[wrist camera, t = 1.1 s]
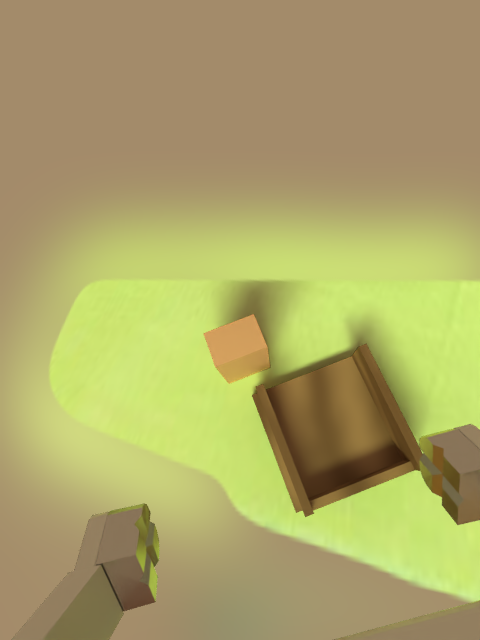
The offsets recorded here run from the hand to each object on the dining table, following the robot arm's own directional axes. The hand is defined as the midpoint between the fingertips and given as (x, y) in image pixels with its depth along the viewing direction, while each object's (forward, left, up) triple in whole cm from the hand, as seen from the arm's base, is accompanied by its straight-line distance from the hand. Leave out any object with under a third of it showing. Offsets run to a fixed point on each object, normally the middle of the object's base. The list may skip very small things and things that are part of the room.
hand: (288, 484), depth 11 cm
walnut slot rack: (-6, -1, -30) cm, 31 cm away
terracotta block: (0, -11, -30) cm, 32 cm away
